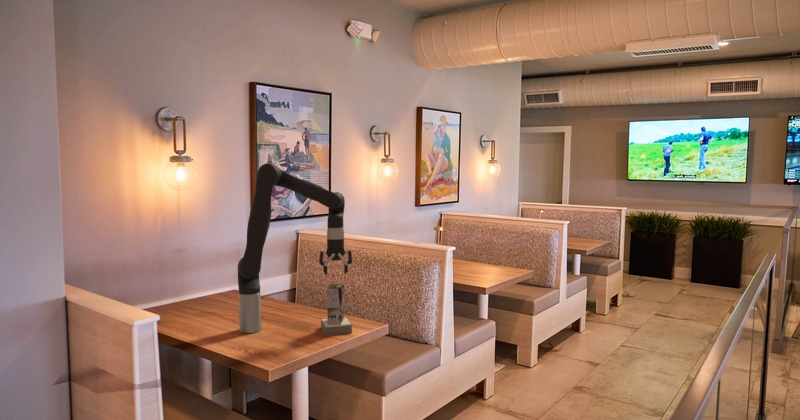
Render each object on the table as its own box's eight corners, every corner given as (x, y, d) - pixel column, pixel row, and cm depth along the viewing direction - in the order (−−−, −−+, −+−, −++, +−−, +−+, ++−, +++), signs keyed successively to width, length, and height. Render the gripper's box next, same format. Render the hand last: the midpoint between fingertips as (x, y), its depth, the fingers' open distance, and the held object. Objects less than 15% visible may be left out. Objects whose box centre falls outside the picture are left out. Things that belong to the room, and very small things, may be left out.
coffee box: (341, 324, 247) (341, 288, 245) (327, 324, 247) (326, 288, 246) (344, 318, 256) (344, 283, 254) (330, 318, 256) (330, 283, 255)
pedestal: (324, 335, 244) (324, 326, 244) (321, 327, 256) (320, 319, 256) (351, 333, 248) (351, 324, 247) (347, 325, 259) (346, 317, 259)
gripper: (320, 239, 243) (320, 276, 244) (353, 238, 247) (353, 274, 248) (318, 237, 250) (318, 273, 251) (349, 236, 254) (350, 271, 255)
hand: (335, 273), depth 250 cm, fingers open, 8 cm apart
